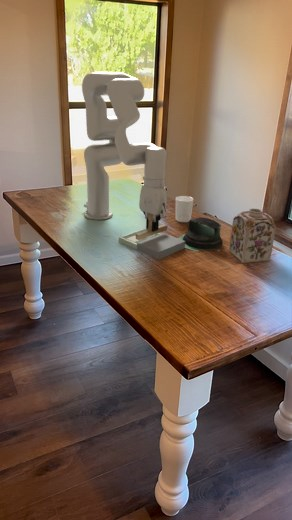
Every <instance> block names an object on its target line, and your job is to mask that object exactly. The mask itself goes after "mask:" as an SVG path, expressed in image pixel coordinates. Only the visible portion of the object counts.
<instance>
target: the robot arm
mask: <svg viewBox="0 0 292 520" xmlns="http://www.w3.org/2000/svg"><path fill="white" fill-rule="evenodd" d="M81 91H82V96H83V100H84V104H85V117H86V118H85V120H86V122H85V123H86V135H87V137H88V139H89V140H90V141H92V142H102V143H95V144H91V145H88V146H86V147H85V148H84V152H83V158H84V159H83V160H84V163H85V169H86V190H87V191H86V192H87V194H86V195H87V196H86V197H87V201H86V202H85V204H83V207H84V208H86V211H84V217H85V218H87V219H89V220H95V221H99V220H100V221H102V220H108V219H110V218H111V217H113V212H112V211H111V210H110V183H109V182H110V177H109V174H108V172H107V171H106V170H105V167H111V166H117V165H120V164H121V163H123V164H124V165H126V166H127V167H128V166H130V167H131V166H133V167H134V166H140V165H144V170H143V171H144V172H143V173H144V174H143V177H142V180H143V184H142V185H141V188H140V191H139V192H140V194H139V204H138V207H139V210H140V211H141V212H142V213H143V215H144V218H145V221H146V224H145V226H146V227H145V228H146V229H147V230H148V222H149V220H148V213H150V214H153V221H152V231H153V232H154V231H157V230H158V227H159V226H160V221H161V220H163V219H165V218H167V213H166V212H167V190H166V186H165V182H166V167H167V166H166V164H167V163H166V162H167V150H166V149H165V148H164V147H162V146H157V145H156V144H154V143H152V142H138V143H130V141H129V139H128V137H127V128H129V127H131V126H133V125H134V124H136V123H137V122H138V121H139V119H140V118H141V114H140V111H139V108H138V105H137V103H138V102H141V101H142V100H144V96H145V87H144V85H143V83H142V81H141V80H140V79H138V78H137V77H134V76H131V75H129V74H127V73H124V72H119V71H118V72H117V71H116V72H115V71H114V72H113V71H109V72H108V71H93V72H89V73H88V74H86V75H85V76H84V77H83V79H82V84H81ZM103 96H107V97H108V98H109V102H110V104H111V106H112V108H113V112H114V114H115V116H114V115H112V116H109V115H108V113H107V112H108V109H107V103H106V101H105V100H104V98H103ZM103 141H108V142H106V143H103Z"/></svg>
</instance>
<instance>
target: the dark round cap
mask: <svg viewBox="0 0 292 520" xmlns="http://www.w3.org/2000/svg"><path fill="white" fill-rule="evenodd" d="M187 226H188V227H187V231H186V233H184V234H182V235H181V236H179V237H177V238H178V239H181V240H184V241H185V248H184V249H188V250H190V251H193V252H197V253H198V252H199V251H200V250H201V251H209V250H210V251H212V250H213V251H214V250H216V249H218V250H217V252H220V251H221V250H220V249H219V248H221V247H222V245H223V239H222V238H221V226H222V225H221V223H220V222H218V221H216V220H215V219H213V218H208V217H201V216H199V217H194V218H191V219H190V220H189V222H188V225H187Z"/></svg>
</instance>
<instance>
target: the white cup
mask: <svg viewBox="0 0 292 520" xmlns="http://www.w3.org/2000/svg"><path fill="white" fill-rule="evenodd" d="M194 200H195V199H194V198H193V197H191V196H188V195H179V196H175V211H174V213H175V221H176V222H178V223H189V220H190V219H192V214H193V212H192V211H193V208H194V207H193V206H194Z"/></svg>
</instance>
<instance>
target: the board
mask: <svg viewBox="0 0 292 520" xmlns="http://www.w3.org/2000/svg"><path fill="white" fill-rule="evenodd" d="M178 238H179V237H175V236H173V235H170V234H167V233H165V232H161V233H160V234H159V235H157V236H154V237H151V238H149V239H146V240H143V241H141V242H138V243H137V250H136V251H137V252H140V253H143V254H145V255H146V256H149V257H150V258H151V257H152V258H153V259H156V260H162V259H163V258H166V257H169V256H170V255H173V254H174V253H177V252H179V251H182V250H184V249H186V248H185V241H184V240H181V239H178Z"/></svg>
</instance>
